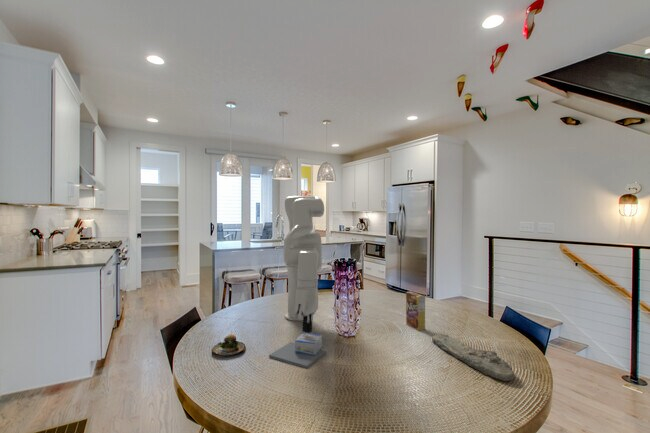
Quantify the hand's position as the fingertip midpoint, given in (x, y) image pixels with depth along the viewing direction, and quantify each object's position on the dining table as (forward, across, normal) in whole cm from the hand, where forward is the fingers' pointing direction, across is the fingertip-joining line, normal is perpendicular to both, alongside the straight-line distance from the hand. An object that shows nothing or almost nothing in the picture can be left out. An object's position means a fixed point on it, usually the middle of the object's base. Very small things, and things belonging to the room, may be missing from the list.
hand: (307, 331), depth 118 cm
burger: (+7, +16, -24) cm, 30 cm away
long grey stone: (+7, -23, +54) cm, 59 cm away
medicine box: (+4, -3, +1) cm, 5 cm away
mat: (+7, +6, 0) cm, 9 cm away
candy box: (+7, -45, +30) cm, 55 cm away
